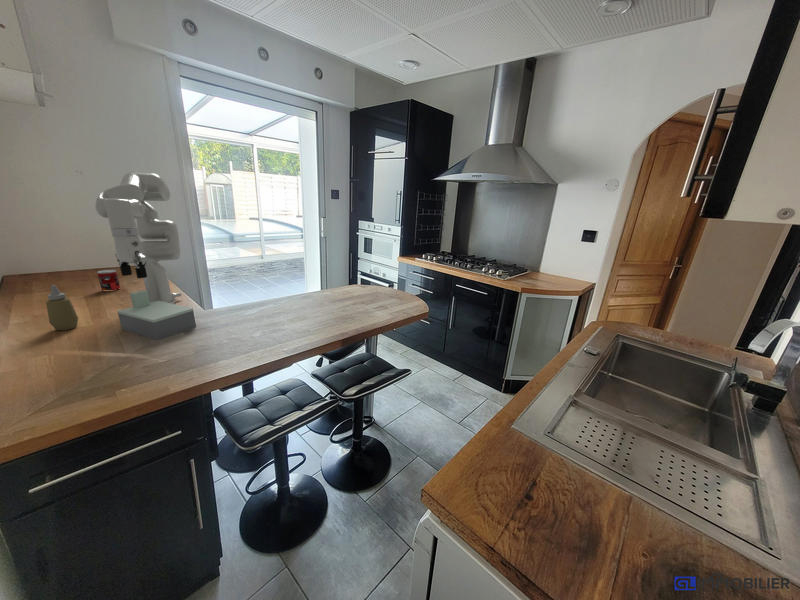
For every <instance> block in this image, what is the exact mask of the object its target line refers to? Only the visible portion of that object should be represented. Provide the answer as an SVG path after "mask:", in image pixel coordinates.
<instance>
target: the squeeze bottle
mask: <svg viewBox="0 0 800 600" xmlns="http://www.w3.org/2000/svg"><path fill="white" fill-rule="evenodd" d="M66 296H67V295H66V293H64V292H60V290H59V288H58V287H57V285H56V284H53V285H50V294H48V295H47V298H48V300H47V301H45V304H46V312H47V315H48V323H49V324H50V325H51V326H52V327H53V328H54V330H55V331H58V330H59V331H58V332H60V330H61V332H62V331H67V330H71V329H74V328H77V326H78V323H79V322H78V321H79V316H78V314H77V313H76V310H75V308H74V306H73V303H72V301H71V299H70V298H68V297H66Z"/></svg>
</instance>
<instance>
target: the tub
mask: <svg viewBox="0 0 800 600" xmlns="http://www.w3.org/2000/svg"><path fill="white" fill-rule="evenodd" d="M117 315H118V319H119V323H120V326H121V330H122V331H126V332H129V333H132V334H135V335H139V336H142V337H146V338H149V339H152V340H156V341H159V340H162V339H165V338H168V337H170V336H173V335H176V334H179V333H181V332H184V331H187V330H190V329H194V328H196V327H197V325H196V319H195V317H196V316H195V313H194V310H193V311H190V312H187V313H184V314H181V315H177V316H174V317H171V318H167V319H164V320H161V321H157V322H154V323H153V322H149V321H146V320H142V319H138V318H134V317H131V316H127V315H123V314H119V313H118V312H117Z"/></svg>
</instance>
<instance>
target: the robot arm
mask: <svg viewBox="0 0 800 600" xmlns="http://www.w3.org/2000/svg"><path fill="white" fill-rule="evenodd" d="M170 198H171V192H170V189H169V187H168V185H167V184H166V182H165V180H164V179H163V178H162V177H161V176H159V175H158V174H156V173H152V172H151V173H149V172H147V173H146V172H128V173H125V174H124V176H123V177H122V179H121V181H120V183H119V185H117V186H116V185H115V186H113V187H110V188H107V189H104V190H102V191H101V192H99V194H98V195H97V198H96V200H95V203H94V204H95V210H96V212H97V214H98V215H99V216H101V217H102V218H105V219H108V223H109V227H110V232H111V235H112V236H111V237H112V238H113V241H114V242H113V243H114V248H115V257H116V259H117V262H118V265H119V268H120V272H121V276H122V277H125V276H132V275H133V273H132V268H131V264H133V265H134V266H135V274H136V278H137V279H143V284H144V287H145V291H147V292H148V296H149V301H150V303H151V302H155V301H162V302H167V303H171V304H175V303H177V300H176V298H179V297H181V296H182V292H171V287H170V283H169V278H168V273H167V272H168V271H167V269H166V267H165V266H164V265H163V264H162V263H161V262H162V261H177V260H178V259H180V257H181V247H180V238H179V229H178V226H177V225H176V223H175V222H174V221H173V220H168V219H165V220H163V219H162V220H161V219H160V220H159V212H158V211H157V209H156V208H155V207H153V205H151V204H150V203H148V202H167V201H169V200H170ZM141 239H142V240H141ZM143 240H144V241H143ZM159 261H160V262H159Z"/></svg>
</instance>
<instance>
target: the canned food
mask: <svg viewBox="0 0 800 600" xmlns="http://www.w3.org/2000/svg"><path fill="white" fill-rule="evenodd" d="M96 274H97V278H98V281H99V285H100V288H101V291H102V290H115V289H119V288H120V289H121V285H120V280H119V276H118V273H117V270H115V269H103V270H98V271H97V273H96ZM120 289H119V290H120Z"/></svg>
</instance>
